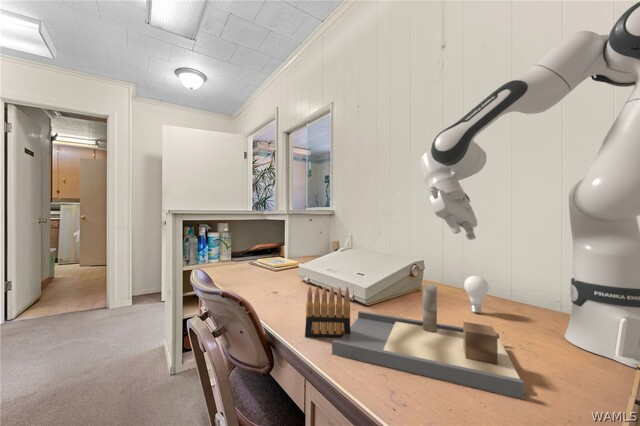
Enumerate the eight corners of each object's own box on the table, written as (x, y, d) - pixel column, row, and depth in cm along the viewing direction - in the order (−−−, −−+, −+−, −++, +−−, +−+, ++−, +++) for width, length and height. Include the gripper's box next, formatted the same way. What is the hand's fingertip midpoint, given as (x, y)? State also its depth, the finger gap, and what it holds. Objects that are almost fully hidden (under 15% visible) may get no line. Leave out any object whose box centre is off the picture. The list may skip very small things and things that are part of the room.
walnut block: (492, 352, 52) (492, 326, 52) (497, 364, 47) (497, 336, 47) (463, 346, 54) (463, 321, 54) (465, 358, 49) (465, 331, 49)
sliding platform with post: (499, 342, 58) (499, 292, 58) (520, 384, 43) (520, 317, 43) (395, 324, 67) (395, 281, 67) (383, 354, 52) (383, 298, 52)
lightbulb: (459, 310, 81) (459, 274, 82) (475, 308, 83) (475, 273, 84) (476, 317, 75) (476, 278, 76) (493, 315, 77) (493, 277, 77)
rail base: (498, 344, 59) (498, 333, 59) (524, 399, 41) (524, 383, 41) (359, 320, 72) (359, 310, 72) (332, 353, 54) (332, 341, 54)
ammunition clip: (304, 338, 62) (305, 287, 62) (305, 335, 64) (306, 285, 64) (350, 340, 61) (351, 288, 62) (350, 336, 63) (350, 286, 63)
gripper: (439, 178, 72) (458, 222, 66) (471, 198, 85) (490, 238, 78) (419, 190, 76) (435, 233, 69) (452, 208, 89) (469, 246, 82)
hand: (464, 235), depth 74 cm, fingers open, 8 cm apart
